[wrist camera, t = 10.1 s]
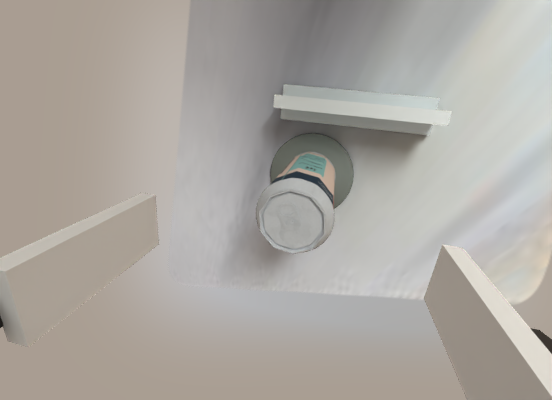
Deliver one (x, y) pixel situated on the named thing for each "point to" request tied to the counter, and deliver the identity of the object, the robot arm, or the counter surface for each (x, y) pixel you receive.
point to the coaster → (325, 148)
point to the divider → (361, 109)
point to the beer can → (299, 204)
